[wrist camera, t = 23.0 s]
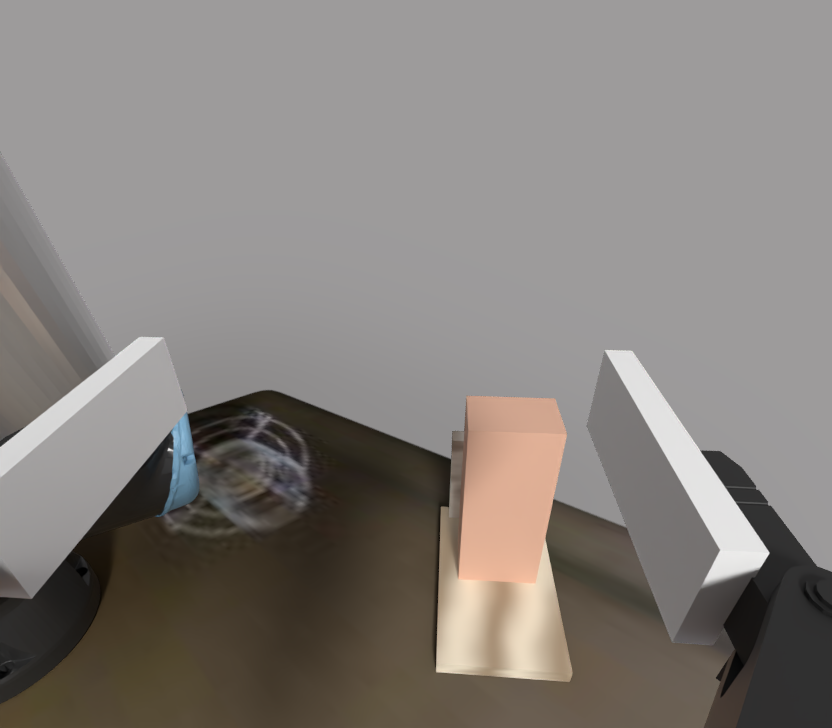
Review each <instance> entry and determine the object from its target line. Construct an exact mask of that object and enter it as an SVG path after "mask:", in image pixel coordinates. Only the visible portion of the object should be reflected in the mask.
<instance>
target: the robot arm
mask: <svg viewBox="0 0 832 728" xmlns="http://www.w3.org/2000/svg"><path fill="white" fill-rule="evenodd" d="M187 410H188V409H187V407H186V403H185V400H184V395H183V392H182V390H181V388H180V385H179V382H178V379H177V376H176V373H175V370H174V367H173V364H172V361H171V358H170V355H169V352H168V349H167V346H166V343H165V340H164V338H160V337H159V338H157V337H139V338H138V339H137V340H135V341H134V342H133V343H131V344H130V345H129V346H128V347H127V348H125V349H124V350H123V351H122V352H120V353H119V354H118V355H116V356H115V355H114V353H113V351H112V349H111V347H110V346H109V344H108V342H107V340H106V338H105V337H104V335H103V333H102V331H101V330H100V328H99V326H98V324H97V322H96V321H95V319H94V317H93V315H92V314H91V312H90V310H89V308H88V307H87V305H86V303H85V301H84V299H83V298H82V296H81V294H80V292H79V291H78V289H77V287H76V285H75V283H74V282H73V280H72V278H71V276H70V275H69V273H68V271H67V269H66V268H65V266H64V264H63V262H62V260H61V259H60V257H59V255H58V253H57V252H56V250H55V248H54V246H53V245H52V243H51V241H50V239H49V237H48V235H47V234H46V232H45V230H44V228H43V227H42V225H41V223H40V221H39V220H38V218H37V216H36V214H35V213H34V211H33V209H32V207H31V205H30V204H29V202H28V200H27V198H26V197H25V195H24V193H23V191H22V189H21V188H20V186H19V184H18V182H17V180H16V179H15V177H14V175H13V173H12V172H11V170H10V168H9V166H8V165H7V163H6V161H5V159H4V157H3V156H2V154H1V152H0V704H1V703H3V702H5V701H7V700H8V699H10V698H12V697H14V696H16V695H17V694H19V693H21V692H22V691H24V690H25V689H27V688H28V687H30V686H31V685H33V684H34V683H36V682H37V681H38V680H40V679H41V678H42V677H44V676H45V675H46V674H47V673H48V672H50V671H51V670H52V669H53V668H54V667H55V666H56V665H58V664H59V663H60V662H61V661H62V660H63V659H64V658H65V657H66V656H67V655H68V654H69V652H70V651H71V650H72V649H73V648H74V647H75V646H76V644H77V643H78V642H79V641H80V639H81V638H82V636H83V635H84V634H85V632H86V631H87V629H88V627H89V626H90V624H91V622H92V620H93V618H94V616H95V613H96V611H97V608H98V605H99V601H100V583H99V580H98V578H97V576H96V574H95V573H94V571H93V569H92V568H91V566H90V564H89V563H88V562H87V561H86V560H85V559H84V558H83V557H82V556H81V555H79V554H77V553H75V552H74V551H72V550H73V548H74V547H75V546H76V545H77V544H78V542H79V541H80V540H82V539H85V538H89V537H92V536H95V535H98V534H101V533H104V532H107V531H110V530H113V529H116V528H120V527H123V526H126V525H129V524H132V523H135V522H138V521H141V520H144V519H148V518H151V517H154V516H156V517H160V516H163V515H164V514H166V513H167V512H169V511H171V510H173V509H176V508H179V507H181V506H184V505H187V504H189V503H190V502H192V501H193V500H194V499H195V498H196V497H197V495H198V492H199V477H198V471H197V465H196V460H195V455H194V448H193V441H192V436H191V430H190V425H189V420H188V414H187ZM587 428H588V430H589V433H590V435H591V438H592V441H593V443H594V446H595V448H596V451H597V453H598V456H599V458H600V461H601V463H602V466H603V468H604V471H605V473H606V476H607V478H608V481H609V484H610V486H611V489H612V491H613V494H614V496H615V498H616V501H617V504H618V506H619V509H620V512H621V514H622V516H623V519H624V522H625V524H626V527H627V529H628V532H629V534H630V537H631V539H632V542H633V544H634V547H635V550H636V552H637V555H638V557H639V560H640V562H641V565H642V567H643V570H644V572H645V575H646V577H647V580H648V582H649V585H650V588H651V590H652V593H653V595H654V598H655V600H656V603H657V605H658V608H659V610H660V613H661V615H662V618H663V620H664V623H665V626H666V628H667V631H668V633H669V636H670V638H671V641H672V642H675V643H689V644H704V645H714V643H715V642H716V640H717V638H718V637H719V635H720V633H721V632H722V630H723V628H725V630H726V632H727V634H728V636H729V638H730V640H731V642H732V644H733V646H734V648H735V650H734V651H733V653H732V654H731V656H730V657H729V659H728V660H727V662H726V663H725V665H724V666H723V668H722V669H721V671H720V672H719V674H718V675H717V677H716V679H718V680H719V681H721V682H720V685H719V688H718V690H717V693H716V696H715V698H714V701H713V704H712V707H711V709H710V712H709V715H708V718H707V720H706V723H705V726H704V728H832V572H830V571H828V570H825V569H823V568H820V567H817V566H816V564H815V563H814V562H813V560H812V559H811V558H810V556H809V555H808V554H807V553H806V551H805V550H804V549H803V547H802V546H801V545H800V543H799V542H798V541H797V539H796V538H795V537H794V535H793V534H792V533H791V532H790V530H789V529H788V528H787V526H786V525H785V524H784V522H783V521H782V520H781V518H780V517H779V516H778V515H777V513H776V512H775V511H774V509H773V508H772V507H771V506H768V501H767V500H766V499H765V497H764V496H763V495H762V494H761V492H760V491H759V490H756V486H755V485H754V483H753V482H752V480H751V479H750V478H749V476H748V475H747V474H746V473H745V471H744V470H743V469H742V467H740V466H739V465H738V464H736V463H735V462H734V461H732V460H731V459H730V458H728V457H727V456H726V455H724V454H723V453H722V452H720V451H700V450H699V448H698V447H697V445H696V444H695V442H694V441H693V440H692V438H691V437H690V435H689V434H688V433H687V431H686V429H685V428H684V426H683V425H682V423H681V422H680V421H679V419H678V418H677V416H676V415H675V413H674V412H673V410H672V409H671V407H670V406H669V404H668V403H667V401H666V400H665V399H664V397H663V395H662V394H661V393H660V391H659V390H658V388H657V387H656V385H655V384H654V382H653V381H652V379H651V378H650V376H649V375H648V374H647V372H646V371H645V369H644V368H643V366H642V365H641V363H640V362H639V360H638V359H637V357H636V356H635V354H634V353H633V352H632V351H619V350H605V351H604V355H603V359H602V363H601V367H600V372H599V376H598V380H597V384H596V389H595V393H594V397H593V401H592V406H591V410H590V414H589V418H588V422H587Z"/></svg>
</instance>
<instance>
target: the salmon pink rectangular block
mask: <svg viewBox="0 0 832 728" xmlns="http://www.w3.org/2000/svg"><path fill="white" fill-rule="evenodd" d="M566 437H567V433H566V430H565V427H564V424H563V421H562V418H561V415H560V412H559V409H558V406H557V403H556V400H555V399H550V398H519V397H518V398H517V397H486V396H467V398H466V413H465V429H464V445H463V462H462V478H461V494H460V510H459V527H458V579H462V580H480V581H498V582H516V583H534V584H535V583H536V579H537V574H538V569H539V564H540V560H541V555H542V550H543V545H544V541H545V536H546V531H547V527H548V522H549V517H550V512H551V508H552V503H553V498H554V493H555V488H556V484H557V479H558V474H559V470H560V465H561V460H562V456H563V451H564V446H565V441H566Z"/></svg>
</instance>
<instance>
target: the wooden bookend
mask: <svg viewBox="0 0 832 728" xmlns="http://www.w3.org/2000/svg"><path fill="white" fill-rule="evenodd" d="M463 445H464V431H453V433H452V456H451V477H450V500H449V507H441V525H440V557H439V590H438V623H437V656H436V672H443V673H457V674H470V675H484V676H497V677H511V678H524V679H538V680H551V681H565V682H570V680H571V677H572V674H573V673H572V668H571V663H570V658H569V653H568V648H567V643H566V639H565V634H564V629H563V624H562V619H561V614H560V609H559V604H558V599H557V594H556V589H555V584H554V580H553V575H552V570H551V565H550V560H549V555H548V550H547V545H546V540H545V541H544V545H543V550H542V555H541V560H540V564H539V569H538V574H537V579H536V583H535V584H534V583H516V582H498V581H480V580H462V579H458V527H459V510H460V494H461V478H462V462H463Z"/></svg>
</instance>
